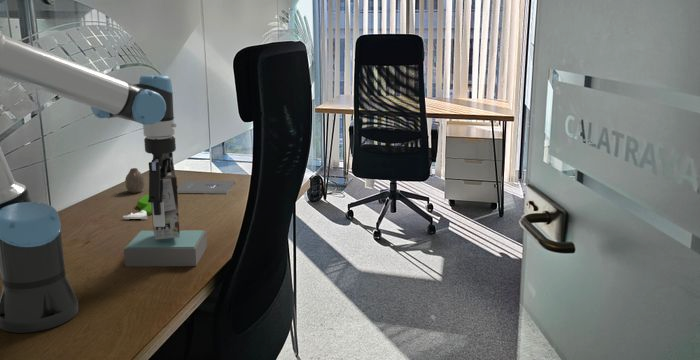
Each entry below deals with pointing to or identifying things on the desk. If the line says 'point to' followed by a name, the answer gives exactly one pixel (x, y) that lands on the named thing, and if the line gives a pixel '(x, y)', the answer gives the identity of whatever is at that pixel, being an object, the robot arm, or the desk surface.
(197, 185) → the play button award
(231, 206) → the desk surface
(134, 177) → the vase
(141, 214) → the spray bottle
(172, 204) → the coffee box
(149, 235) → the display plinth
